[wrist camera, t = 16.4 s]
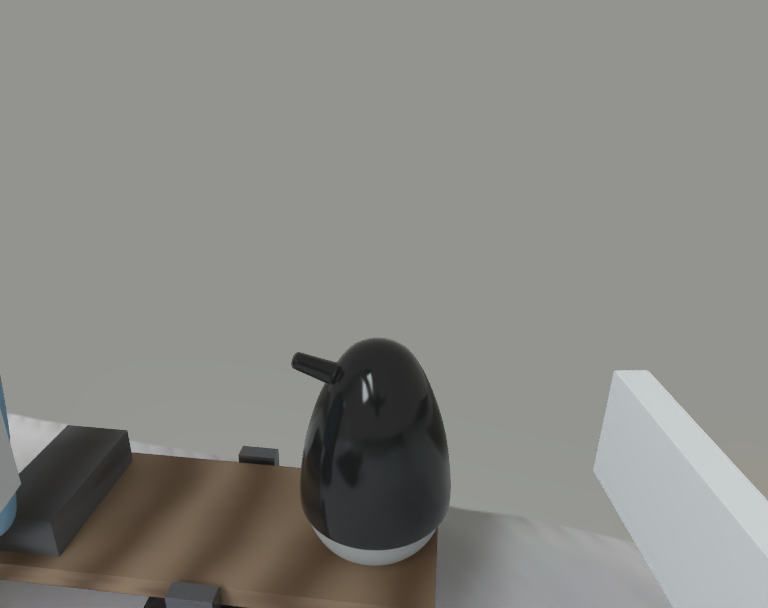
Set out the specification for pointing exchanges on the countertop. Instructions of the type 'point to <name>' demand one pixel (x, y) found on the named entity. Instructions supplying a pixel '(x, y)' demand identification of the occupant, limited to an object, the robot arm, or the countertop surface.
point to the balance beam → (187, 531)
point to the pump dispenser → (374, 454)
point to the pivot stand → (197, 601)
